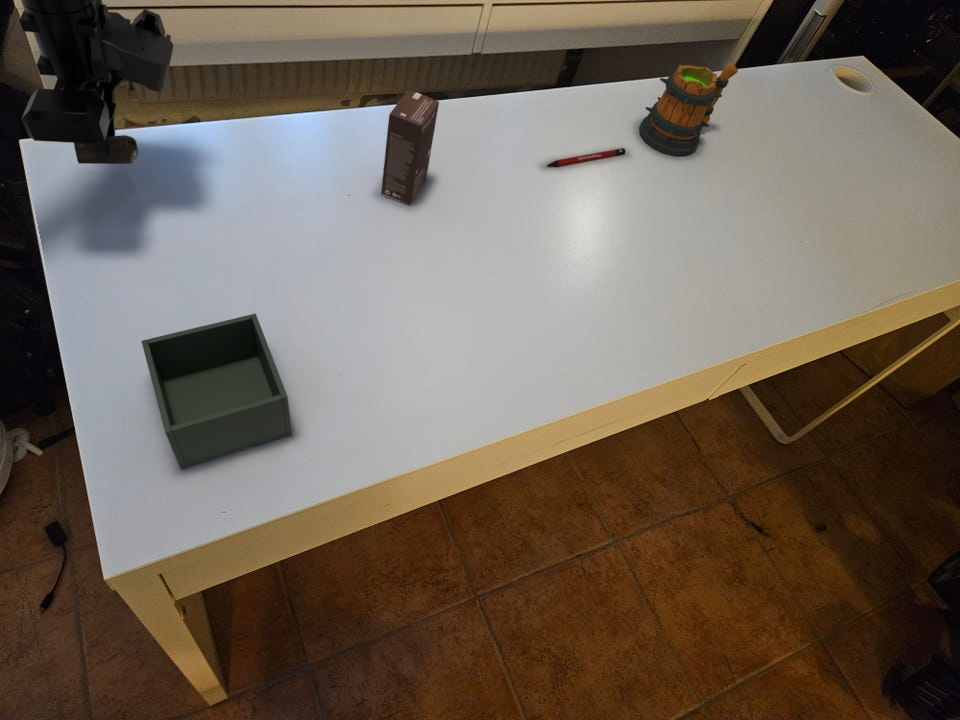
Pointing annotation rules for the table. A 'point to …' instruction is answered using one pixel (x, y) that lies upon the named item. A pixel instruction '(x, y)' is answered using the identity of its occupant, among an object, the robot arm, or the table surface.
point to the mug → (683, 109)
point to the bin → (217, 389)
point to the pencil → (587, 157)
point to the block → (110, 151)
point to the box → (408, 146)
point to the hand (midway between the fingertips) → (106, 146)
